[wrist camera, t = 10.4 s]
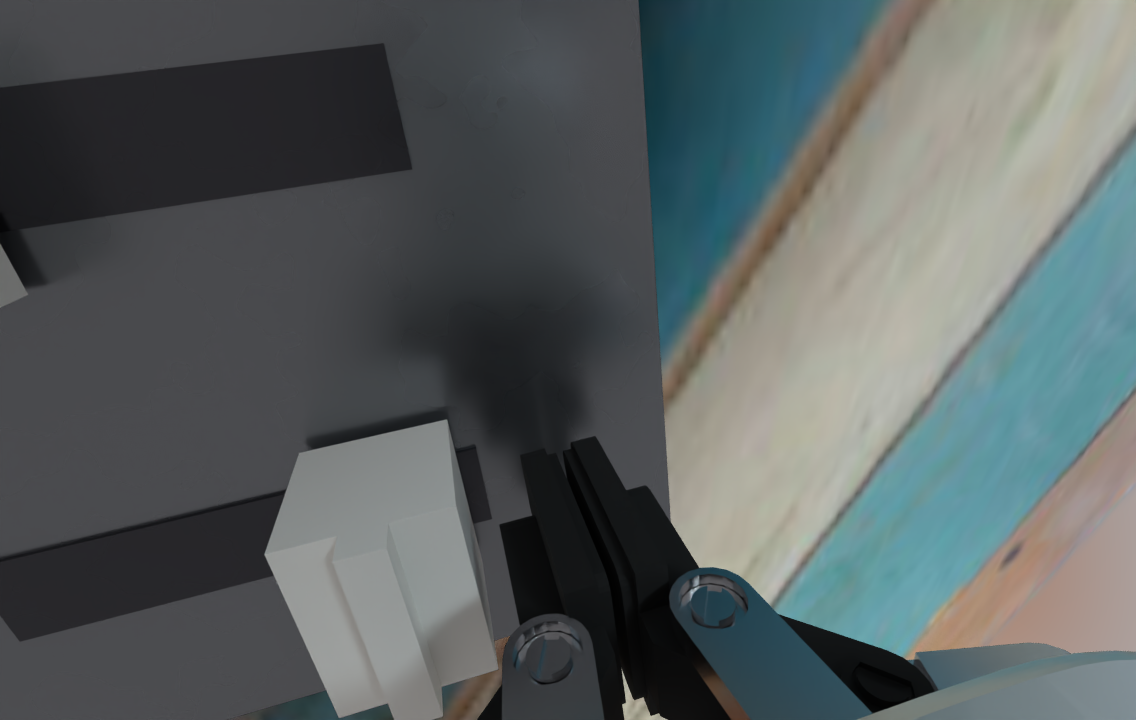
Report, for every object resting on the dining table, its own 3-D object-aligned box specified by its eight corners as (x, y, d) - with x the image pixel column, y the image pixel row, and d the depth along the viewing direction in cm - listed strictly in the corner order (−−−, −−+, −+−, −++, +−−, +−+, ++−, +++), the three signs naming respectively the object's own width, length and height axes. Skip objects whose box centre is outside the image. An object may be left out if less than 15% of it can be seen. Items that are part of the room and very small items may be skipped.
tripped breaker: (446, 419, 12) (459, 529, 9) (482, 561, 14) (502, 697, 11) (299, 453, 12) (254, 583, 8) (354, 596, 13) (335, 750, 10)
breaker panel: (585, -223, 10) (622, -298, 8) (648, 539, 18) (676, 589, 16) (-975, -158, 7) (-1478, -257, 5) (-90, 746, 15) (-165, 839, 13)
